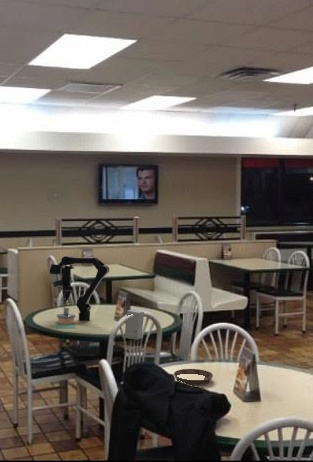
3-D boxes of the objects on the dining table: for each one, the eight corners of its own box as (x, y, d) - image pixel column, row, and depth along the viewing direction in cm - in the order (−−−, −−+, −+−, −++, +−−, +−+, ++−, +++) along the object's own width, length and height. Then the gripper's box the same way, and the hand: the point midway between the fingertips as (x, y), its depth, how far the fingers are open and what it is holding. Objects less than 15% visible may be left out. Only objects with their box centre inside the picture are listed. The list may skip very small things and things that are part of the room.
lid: (73, 314, 398) (74, 306, 398) (76, 318, 387) (77, 309, 386) (55, 314, 395) (55, 306, 394) (57, 318, 383) (58, 310, 383)
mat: (73, 324, 386) (73, 324, 386) (76, 329, 375) (76, 328, 375) (54, 325, 383) (54, 324, 383) (56, 329, 371) (56, 328, 371)
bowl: (72, 321, 397) (72, 315, 397) (74, 324, 388) (74, 318, 387) (57, 321, 394) (57, 315, 394) (59, 324, 385) (59, 318, 385)
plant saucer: (176, 386, 273) (177, 379, 272) (171, 374, 290) (171, 368, 290) (216, 386, 275) (216, 380, 274) (208, 375, 292) (208, 368, 292)
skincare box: (124, 338, 358) (125, 310, 357) (130, 335, 364) (131, 308, 363) (137, 340, 354) (138, 312, 353) (143, 337, 360) (144, 310, 359)
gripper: (51, 273, 409) (50, 297, 409) (55, 277, 391) (54, 302, 392) (68, 273, 412) (67, 297, 413) (73, 277, 394) (72, 302, 395)
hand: (65, 299), depth 403 cm, fingers open, 9 cm apart
